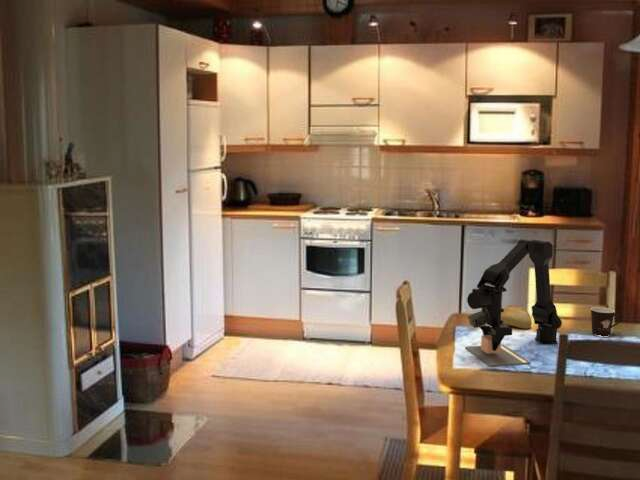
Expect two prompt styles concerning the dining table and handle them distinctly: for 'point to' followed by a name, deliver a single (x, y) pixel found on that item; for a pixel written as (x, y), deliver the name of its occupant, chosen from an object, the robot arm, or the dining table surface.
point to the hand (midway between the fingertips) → (490, 348)
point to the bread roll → (516, 317)
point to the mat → (498, 356)
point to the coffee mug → (603, 320)
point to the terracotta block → (488, 344)
